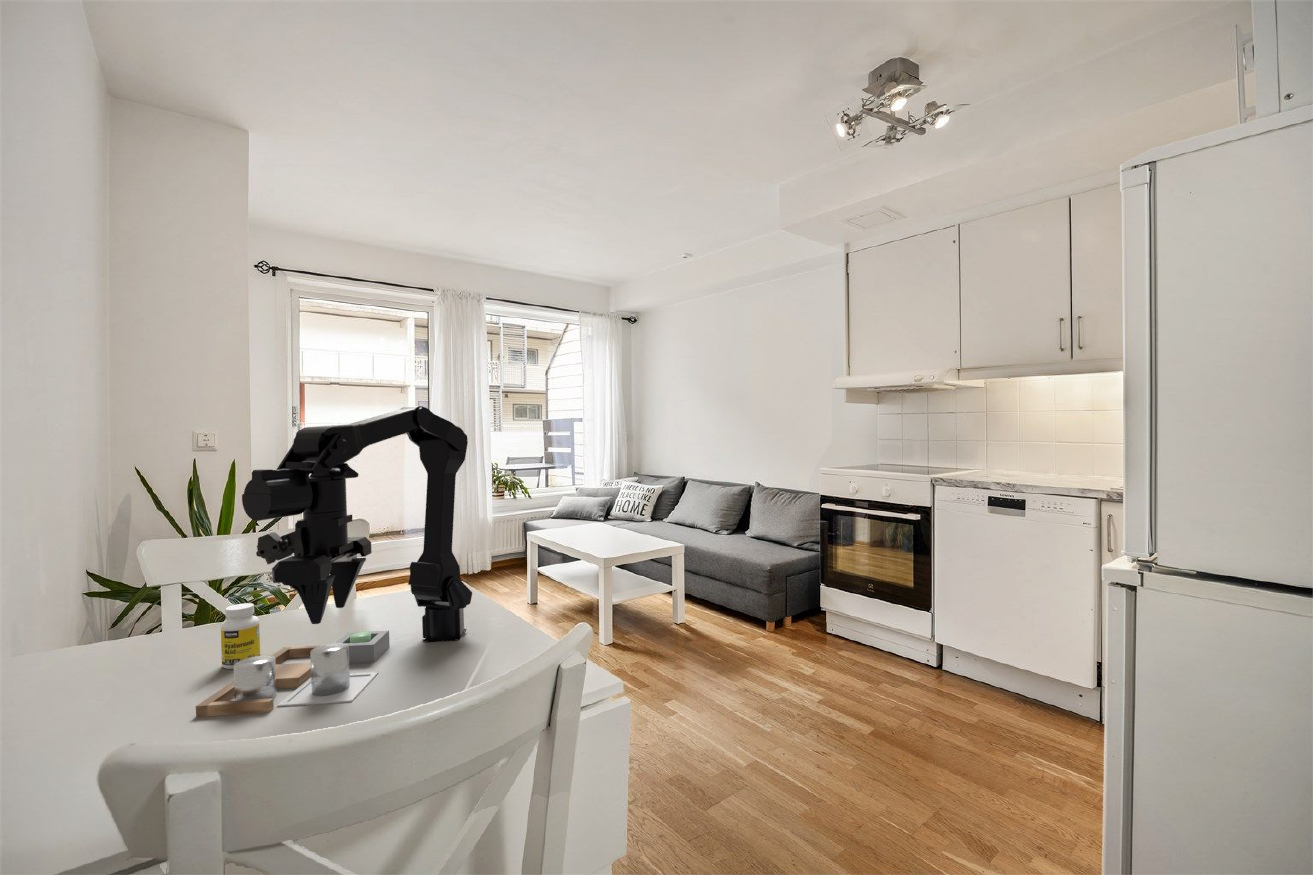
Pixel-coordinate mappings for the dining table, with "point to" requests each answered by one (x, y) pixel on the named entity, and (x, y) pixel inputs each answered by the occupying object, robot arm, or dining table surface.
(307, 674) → the frame
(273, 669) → the seated steel billet
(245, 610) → the supplement bottle
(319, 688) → the loose steel billet
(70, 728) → the dining table surface
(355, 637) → the button
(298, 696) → the tray
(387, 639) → the button housing
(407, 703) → the dining table surface
